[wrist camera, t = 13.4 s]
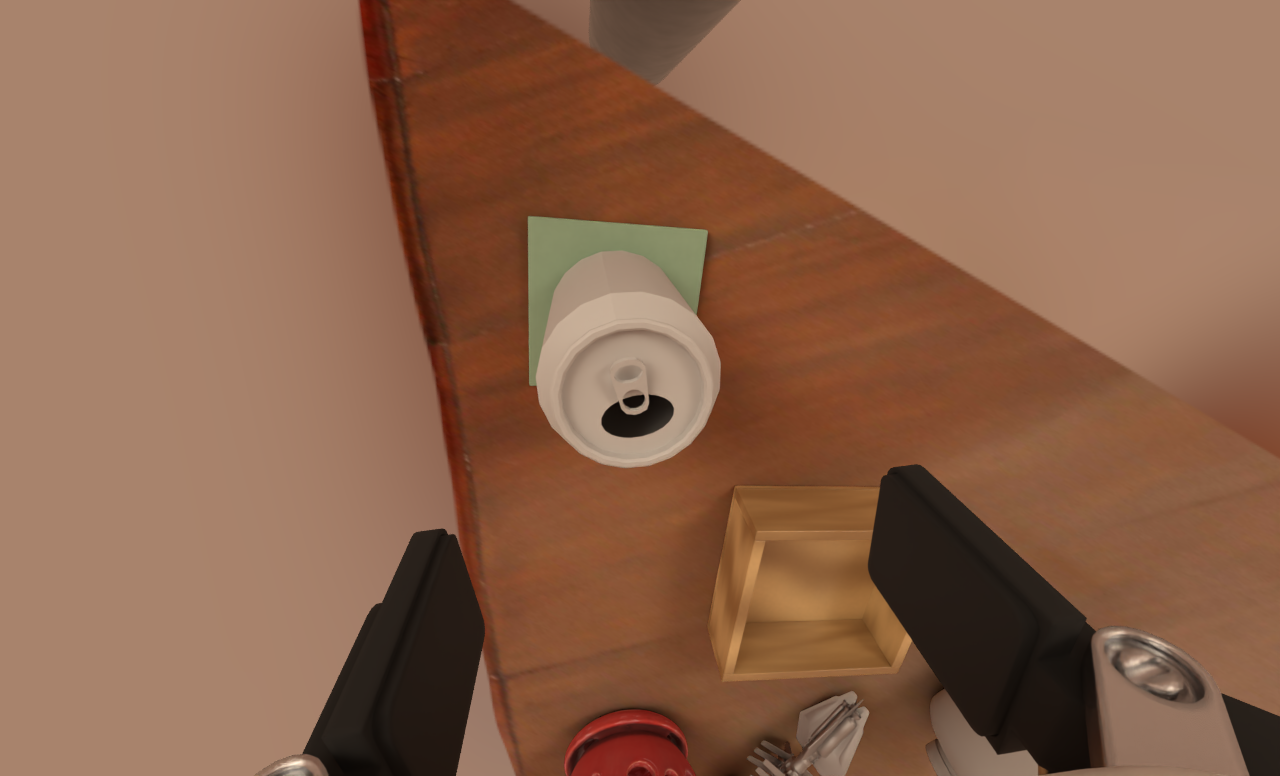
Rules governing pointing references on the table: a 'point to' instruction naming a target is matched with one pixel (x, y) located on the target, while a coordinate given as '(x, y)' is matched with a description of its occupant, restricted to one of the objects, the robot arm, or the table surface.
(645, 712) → the flower pot
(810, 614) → the wooden box
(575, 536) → the table surface
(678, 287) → the mat
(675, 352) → the can
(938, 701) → the jar
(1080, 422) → the table surface
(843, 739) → the spaceship
